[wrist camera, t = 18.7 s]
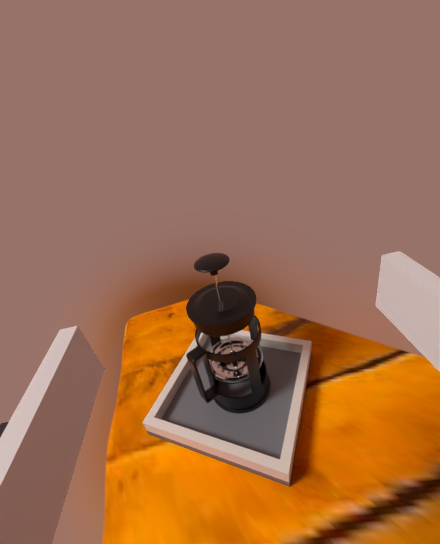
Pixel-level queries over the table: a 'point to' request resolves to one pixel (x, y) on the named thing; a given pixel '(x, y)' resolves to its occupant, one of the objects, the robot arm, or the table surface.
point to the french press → (227, 339)
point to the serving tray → (245, 426)
